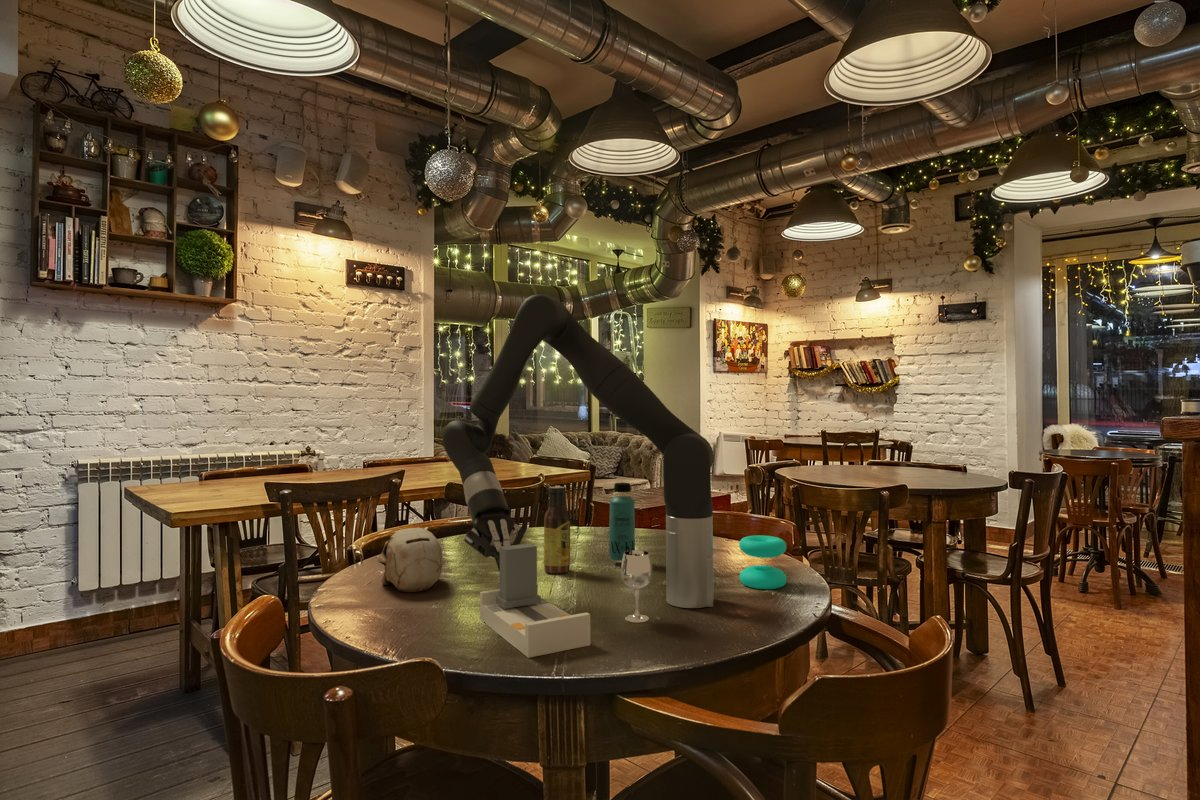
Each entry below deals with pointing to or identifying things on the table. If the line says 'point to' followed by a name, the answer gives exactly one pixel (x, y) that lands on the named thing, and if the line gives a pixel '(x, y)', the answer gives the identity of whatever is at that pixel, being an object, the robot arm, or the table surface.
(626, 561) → the wineglass
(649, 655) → the table surface
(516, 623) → the tray
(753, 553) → the donuts
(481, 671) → the table surface
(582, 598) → the table surface
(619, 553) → the beverage bottle
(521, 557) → the switch tab
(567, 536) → the sauce bottle
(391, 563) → the coin bank
